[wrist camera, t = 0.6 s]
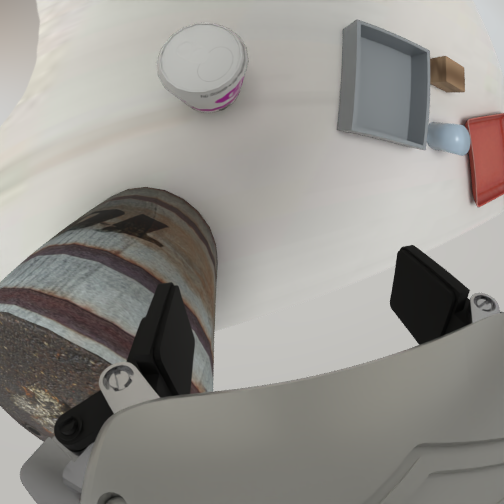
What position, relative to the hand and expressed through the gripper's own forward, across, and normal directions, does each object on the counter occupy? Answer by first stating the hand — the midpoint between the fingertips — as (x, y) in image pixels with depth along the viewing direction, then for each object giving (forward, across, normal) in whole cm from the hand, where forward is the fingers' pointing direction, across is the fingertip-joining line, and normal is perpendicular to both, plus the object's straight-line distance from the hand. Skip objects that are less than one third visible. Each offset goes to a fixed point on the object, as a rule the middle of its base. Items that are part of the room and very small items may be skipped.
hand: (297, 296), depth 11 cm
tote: (+29, -22, -13) cm, 39 cm away
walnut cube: (+29, -36, -18) cm, 50 cm away
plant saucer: (+30, -52, -3) cm, 60 cm away
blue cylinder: (+29, -34, -6) cm, 45 cm away
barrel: (+30, +17, +10) cm, 36 cm away
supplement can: (+30, +3, -14) cm, 33 cm away
